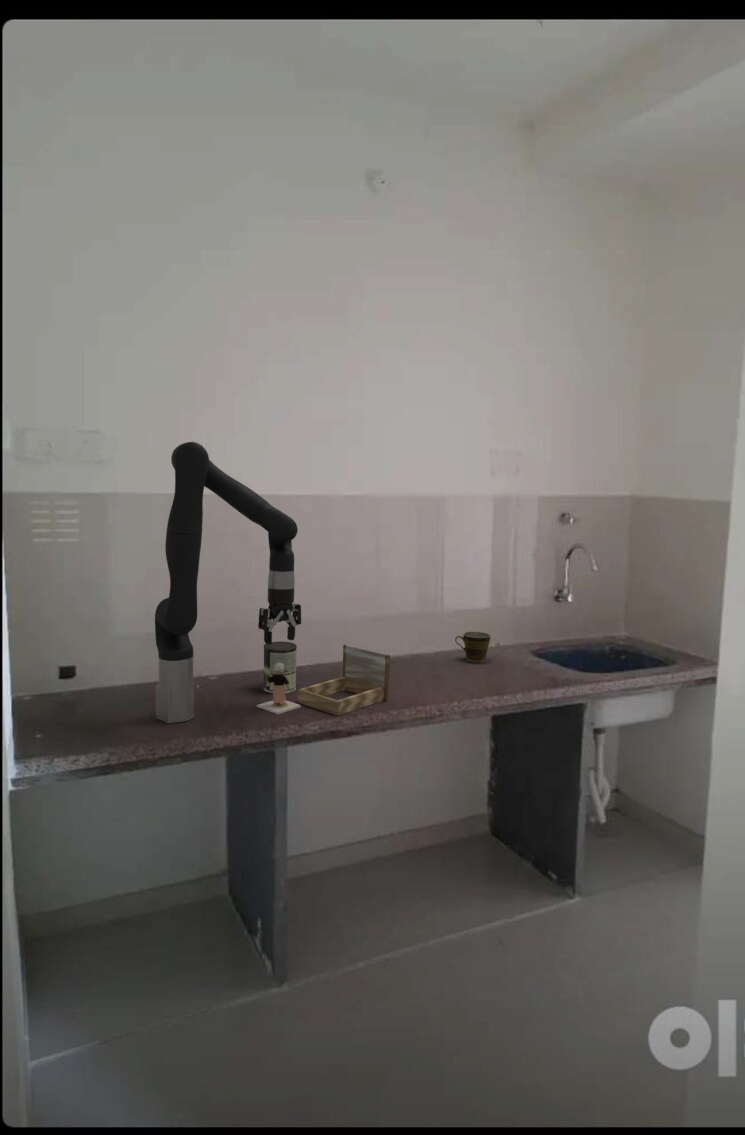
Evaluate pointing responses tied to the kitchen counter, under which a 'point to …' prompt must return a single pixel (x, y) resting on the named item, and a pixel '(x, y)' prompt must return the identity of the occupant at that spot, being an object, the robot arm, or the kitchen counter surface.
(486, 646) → the ceramic cup
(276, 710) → the tile
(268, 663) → the coffee can
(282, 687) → the grandmother figurine
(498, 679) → the kitchen counter surface
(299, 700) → the cold frame
